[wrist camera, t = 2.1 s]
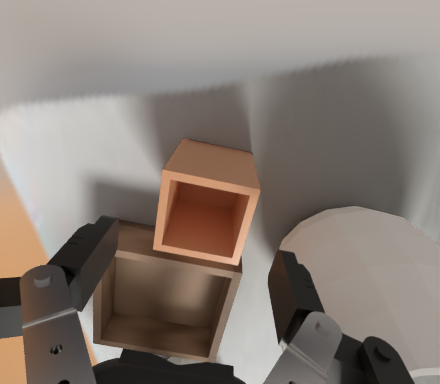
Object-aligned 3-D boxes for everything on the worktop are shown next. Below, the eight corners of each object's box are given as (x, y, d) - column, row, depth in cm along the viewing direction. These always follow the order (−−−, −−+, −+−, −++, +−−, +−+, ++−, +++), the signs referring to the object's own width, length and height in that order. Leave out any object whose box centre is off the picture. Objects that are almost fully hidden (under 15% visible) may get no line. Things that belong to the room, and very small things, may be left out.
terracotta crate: (252, 152, 21) (260, 189, 15) (236, 212, 24) (237, 265, 17) (183, 138, 21) (162, 169, 15) (174, 199, 23) (152, 249, 17)
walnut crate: (240, 243, 25) (242, 273, 22) (215, 327, 30) (213, 363, 27) (113, 218, 25) (93, 245, 21) (110, 309, 30) (93, 343, 26)
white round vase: (234, 247, 25) (237, 413, 13) (356, 156, 21) (525, 279, 9) (315, 320, 29) (376, 501, 17) (434, 255, 25) (626, 435, 13)
